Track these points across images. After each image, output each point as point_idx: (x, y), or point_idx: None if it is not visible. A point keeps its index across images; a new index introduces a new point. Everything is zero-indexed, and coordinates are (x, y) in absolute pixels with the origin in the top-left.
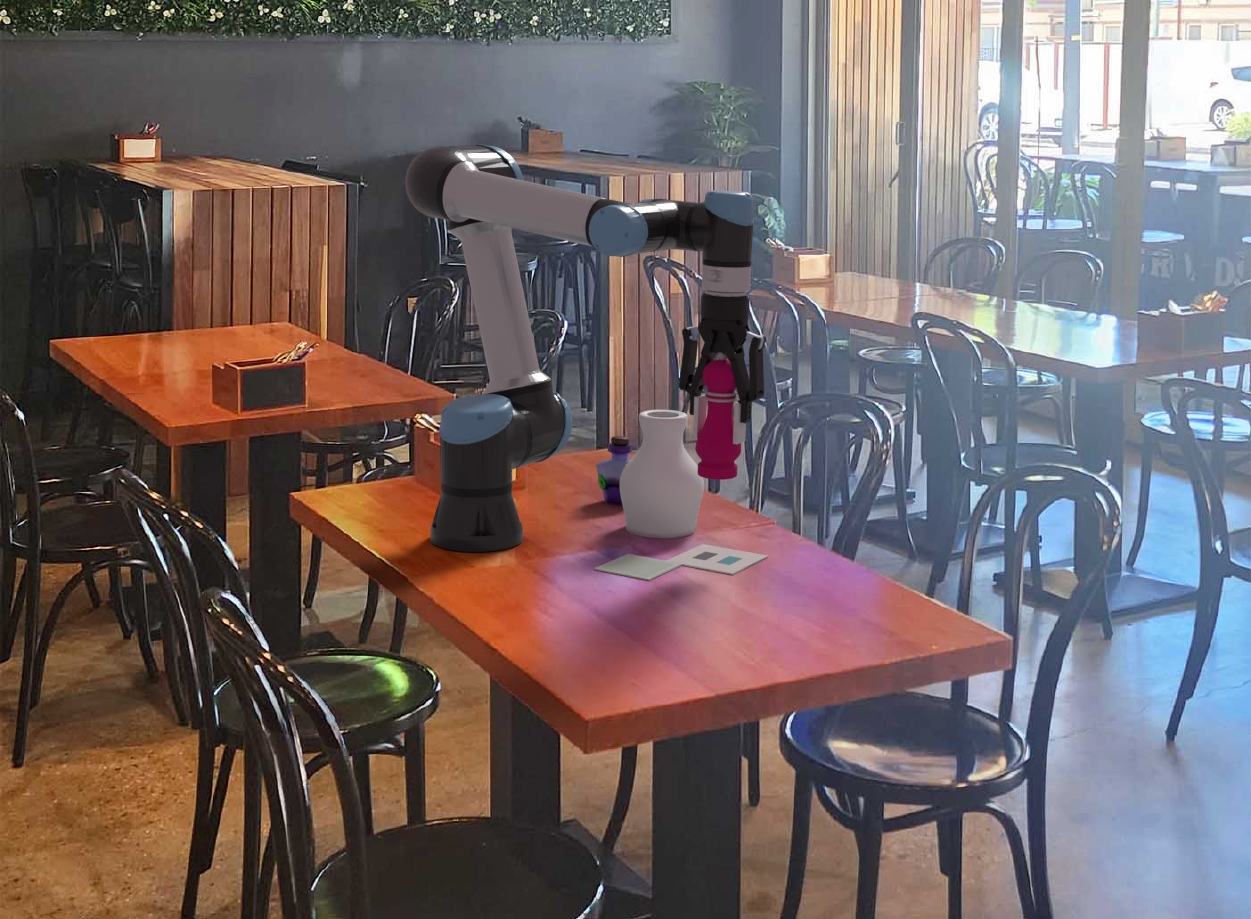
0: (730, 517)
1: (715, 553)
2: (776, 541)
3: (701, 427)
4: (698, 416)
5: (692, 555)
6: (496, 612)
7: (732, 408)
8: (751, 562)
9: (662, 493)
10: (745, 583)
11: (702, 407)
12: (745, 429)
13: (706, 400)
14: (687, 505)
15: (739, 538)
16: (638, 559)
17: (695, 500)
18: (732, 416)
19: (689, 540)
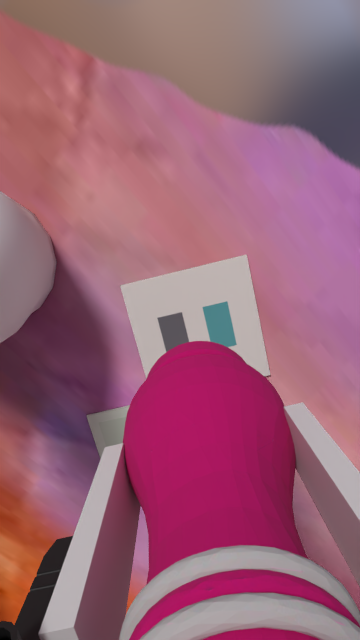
0: (2, 80)
1: (176, 313)
2: (188, 156)
3: (127, 500)
4: (127, 575)
5: (159, 349)
6: None
7: (303, 550)
8: (252, 307)
9: (8, 335)
10: (309, 390)
11: (110, 588)
12: (323, 430)
13: (87, 588)
14: (40, 273)
15: (129, 196)
16: (120, 426)
17: (35, 247)
18: (285, 505)
19: (82, 278)
